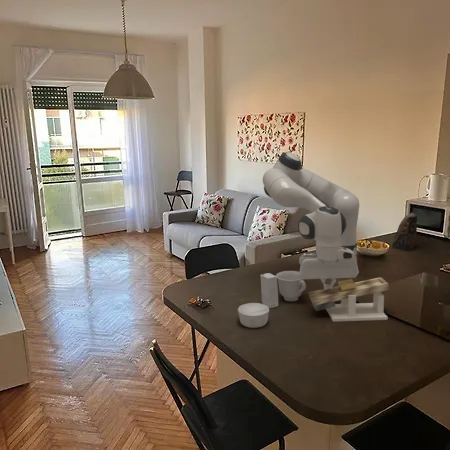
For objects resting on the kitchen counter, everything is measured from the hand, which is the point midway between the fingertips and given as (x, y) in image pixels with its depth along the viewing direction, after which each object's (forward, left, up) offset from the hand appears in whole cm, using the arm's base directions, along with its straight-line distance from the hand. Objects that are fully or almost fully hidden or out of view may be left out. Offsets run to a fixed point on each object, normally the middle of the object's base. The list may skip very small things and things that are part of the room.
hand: (328, 289), depth 148 cm
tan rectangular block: (+5, +5, -1) cm, 7 cm away
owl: (-17, +107, -10) cm, 109 cm away
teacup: (-18, +3, -10) cm, 21 cm away
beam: (+5, +5, -4) cm, 9 cm away
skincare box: (-22, -7, -10) cm, 25 cm away
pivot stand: (+7, +7, -9) cm, 14 cm away
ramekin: (-16, -23, -10) cm, 30 cm away
